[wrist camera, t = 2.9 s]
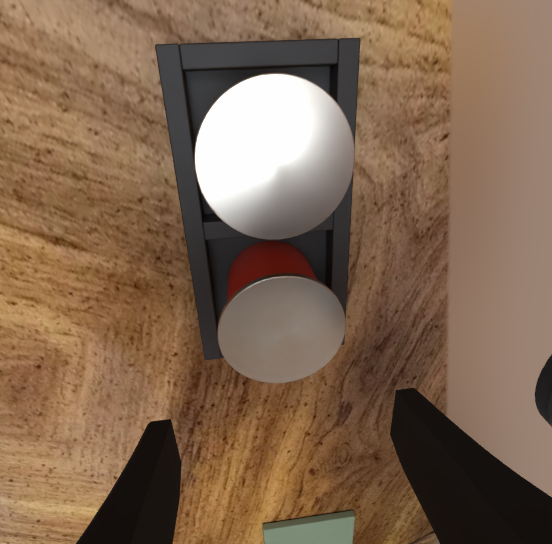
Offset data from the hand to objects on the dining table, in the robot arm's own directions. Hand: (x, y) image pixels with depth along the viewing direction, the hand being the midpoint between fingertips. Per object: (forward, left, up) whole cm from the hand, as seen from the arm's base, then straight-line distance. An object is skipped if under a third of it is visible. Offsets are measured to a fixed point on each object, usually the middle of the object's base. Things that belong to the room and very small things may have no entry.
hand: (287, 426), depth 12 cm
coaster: (-2, +23, -8) cm, 25 cm away
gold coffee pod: (0, -8, -8) cm, 11 cm away
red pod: (0, -1, -8) cm, 8 cm away
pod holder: (0, -4, -8) cm, 9 cm away
